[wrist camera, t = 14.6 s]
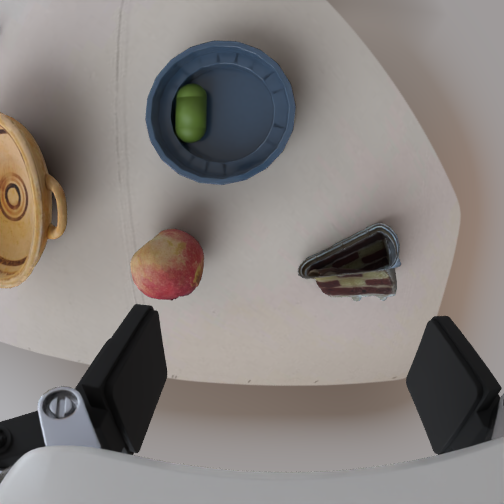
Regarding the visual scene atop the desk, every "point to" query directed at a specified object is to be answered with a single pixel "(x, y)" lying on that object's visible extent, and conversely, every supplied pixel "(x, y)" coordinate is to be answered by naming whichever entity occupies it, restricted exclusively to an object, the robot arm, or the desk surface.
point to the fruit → (168, 265)
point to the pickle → (191, 113)
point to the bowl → (223, 112)
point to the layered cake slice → (357, 265)
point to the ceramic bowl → (25, 203)
